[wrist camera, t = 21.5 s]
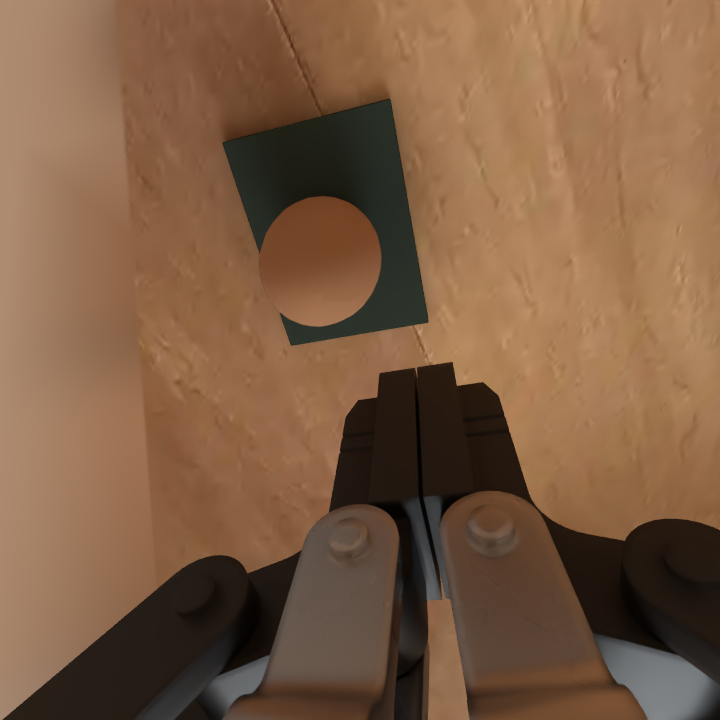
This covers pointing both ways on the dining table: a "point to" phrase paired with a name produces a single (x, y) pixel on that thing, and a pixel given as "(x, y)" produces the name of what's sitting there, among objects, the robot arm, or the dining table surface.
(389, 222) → the mat
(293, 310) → the egg
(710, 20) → the dining table surface
